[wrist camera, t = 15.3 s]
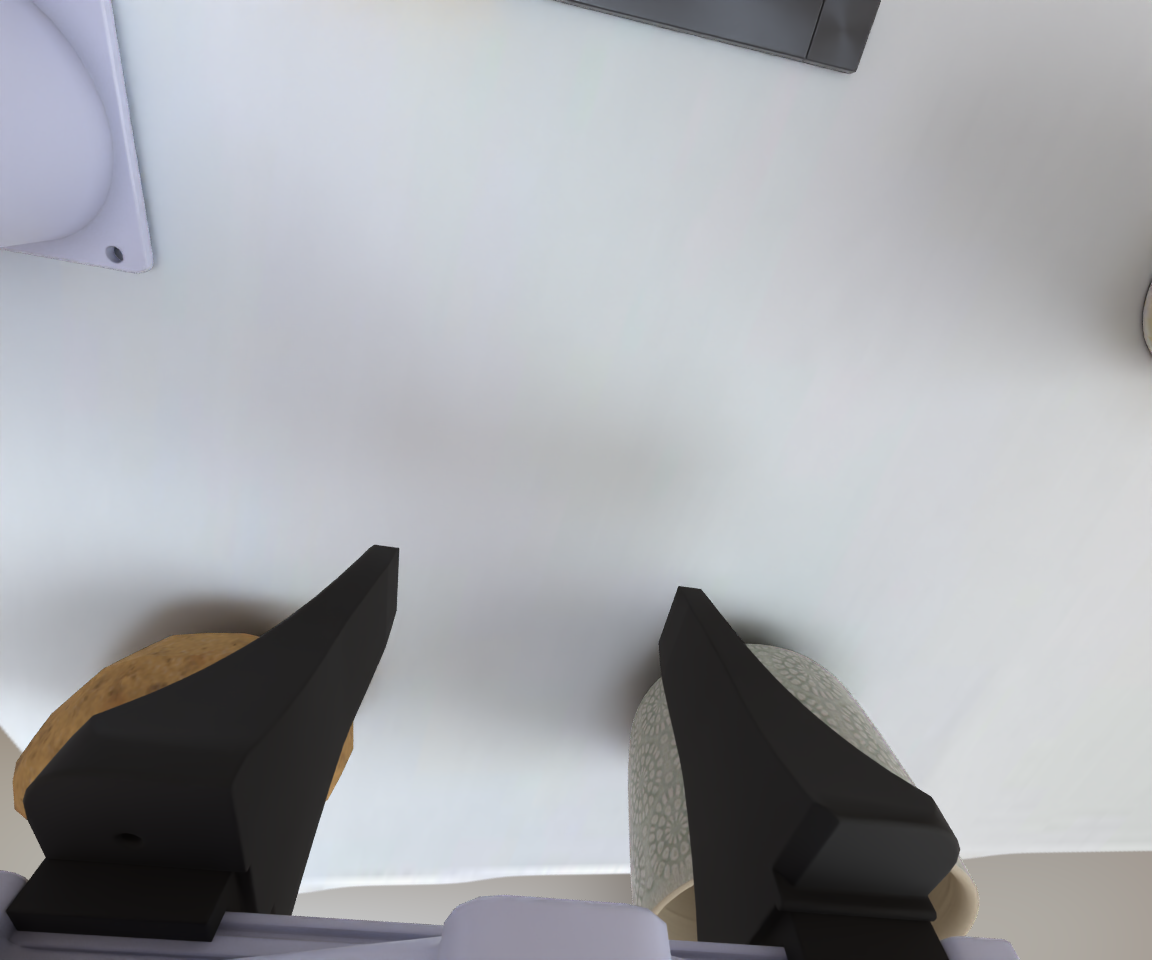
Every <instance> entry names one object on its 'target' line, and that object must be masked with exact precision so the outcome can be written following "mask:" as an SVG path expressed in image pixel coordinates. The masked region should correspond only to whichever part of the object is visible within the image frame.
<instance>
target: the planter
mask: <svg viewBox="0 0 1152 960" xmlns="http://www.w3.org/2000/svg"><path fill="white" fill-rule="evenodd" d="M746 646H747V647H748V648H749V649H750V650H751V651H752V653H753V654H754V655H755V656H756V657H757V658H758V659H759V661H760V662H761V663H762V664H763V665H764V666H765V667H766V668H767V669H768V670H769V671H770V672H771V673H772V675H773V676H774V677H775V678H776V679H777V680H778V681H779V682H780V683H781V684H782V685H783V686H784V687H785V688H786V689H787V690H788V691H789V692H791V693H792V694H793V695H794V696H795V697H796V698H797V699H798V700H799V701H800V702H801V703H802V704H803V705H804V706H805V707H807V708H808V709H809V710H810V711H811V712H812V713H813V714H815V715H816V716H817V717H818V718H819V719H821V720H822V721H823V722H824V723H825V724H827V725H828V726H829V727H830V728H832V729H833V730H834V731H835V732H837V733H838V734H839V735H840V736H842V737H843V738H844V739H845V740H847V741H848V742H849V743H851V744H852V745H853V746H855V747H856V748H857V749H859V750H860V751H862V752H863V753H865V754H866V755H867V756H869V757H870V758H872V759H873V760H874V761H876V762H877V763H879V764H880V765H882V766H883V767H885V768H886V769H888V770H889V771H891V772H892V773H894V774H895V775H897V776H899V777H900V778H902V779H904V780H905V781H907V782H908V783H910V784H912V785H913V786H915V784H914V783H913V781H912V780H911V778H910V777H909V775H908V774H907V772H906V771H905V769H904V768H903V766H902V765H901V764H900V762H899V761H898V759H897V758H896V756H895V755H894V753H893V752H892V750H891V749H890V747H889V746H888V744H887V743H886V741H885V740H884V738H883V737H882V735H881V734H880V733H879V731H878V730H877V728H876V727H875V726H874V724H873V723H872V721H871V720H870V719H869V717H868V716H867V714H866V713H865V712H864V710H863V709H862V708H861V706H860V705H859V704H858V703H857V701H856V700H855V699H854V698H853V696H852V695H851V694H850V692H849V691H848V690H847V689H846V688H845V686H844V685H843V684H842V683H841V682H840V681H839V680H838V679H837V678H836V677H835V676H834V675H832V674H831V673H830V672H829V671H828V670H827V669H825V668H824V667H822V666H821V665H819V664H818V663H816V662H815V661H813V660H811V659H809V658H808V657H805V656H803V655H801V654H799V653H796V652H794V651H791V650H787V649H784V648H780V647H775V646H770V645H762V644H746ZM915 787H916V786H915ZM916 788H917V787H916ZM628 804H629V843H630V867H631V886H632V899H633V900H632V901H633V905H634V906H639V907H643V908H648V909H649V910H650V911H652V912H653V913H654V914H655V915H657V916H658V917H659V918H660V919H662V920H663V921H664V922H665V923H666V925H667V932H668V939H669V940H681V941H696V942H697V924H696V906H695V893H694V880H693V867H692V855H691V845H690V835H689V825H688V816H687V807H686V799H685V791H684V783H683V776H682V770H681V765H680V759H679V755H678V750H677V746H676V742H675V737H674V733H673V728H672V724H671V720H670V715H669V711H668V706H667V702H666V697H665V692H664V688H663V683H662V677H660V678H659V679H658V680H657V681H656V682H655V683H654V684H653V685H652V686H651V688H650V689H649V690H648V692H647V693H646V695H645V696H644V698H643V699H642V701H641V703H640V705H639V707H638V709H637V712H636V714H635V717H634V720H633V724H632V728H631V734H630V742H629V762H628ZM928 897H929V899H930V901H931V903H932V905H933V907H934V909H935V911H936V913H937V919H936V920H935V921H934V922H932V921H930V922H931V924H932V926H933V928H934V930H935V932H936V934H937V936H938V938H939V940H940V941H941V940H942V939H945V938H949V937H955V936H966V934H967V933H968V931H969V930H970V929H971V927H972V925H973V923H974V921H975V919H976V917H977V914H978V910H979V894H978V890H977V887H976V885H975V883H974V881H973V879H972V877H971V875H970V873H969V871H968V870H967V868H966V866H965V864H964V863H963V861H962V859H961V857H960V856H958V860H957V863H956V864H955V865H954V867H953V868H952V870H951V871H950V872H949V873H948V874H947V875H946V877H945V878H944V879H943V880H942V881H941V882H940V883H939V884H938V885H937V886H936V887H935V888H934V889H933V890H932V891H931V892H930V893H929V895H928Z"/></svg>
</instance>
